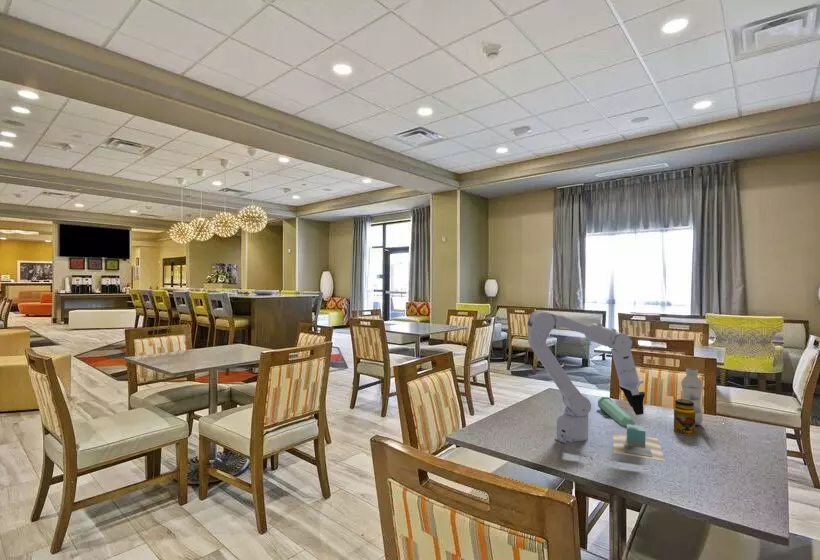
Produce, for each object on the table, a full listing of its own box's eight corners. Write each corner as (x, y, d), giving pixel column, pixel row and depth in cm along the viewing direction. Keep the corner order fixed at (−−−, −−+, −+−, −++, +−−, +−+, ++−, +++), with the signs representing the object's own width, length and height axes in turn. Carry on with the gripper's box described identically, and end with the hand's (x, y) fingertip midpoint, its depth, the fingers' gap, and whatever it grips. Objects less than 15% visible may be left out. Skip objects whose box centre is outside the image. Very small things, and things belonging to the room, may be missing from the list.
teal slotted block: (645, 444, 133) (645, 431, 133) (627, 441, 135) (627, 428, 135) (644, 438, 137) (644, 426, 137) (626, 436, 139) (626, 424, 139)
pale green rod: (634, 414, 149) (609, 394, 174) (618, 420, 149) (595, 399, 174) (641, 430, 149) (614, 407, 173) (624, 436, 149) (600, 412, 174)
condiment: (685, 441, 140) (685, 404, 140) (663, 432, 148) (663, 397, 148) (702, 439, 142) (702, 402, 142) (679, 430, 150) (679, 396, 150)
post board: (664, 466, 120) (665, 450, 120) (613, 457, 126) (613, 442, 126) (657, 443, 138) (657, 429, 138) (612, 436, 143) (612, 423, 143)
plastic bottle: (707, 427, 154) (707, 371, 154) (687, 427, 154) (688, 371, 154) (695, 421, 160) (695, 367, 160) (677, 421, 160) (677, 367, 160)
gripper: (644, 372, 130) (656, 416, 130) (634, 361, 144) (644, 400, 144) (619, 376, 132) (631, 419, 132) (611, 365, 146) (622, 404, 146)
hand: (636, 410), depth 138 cm, fingers open, 7 cm apart
